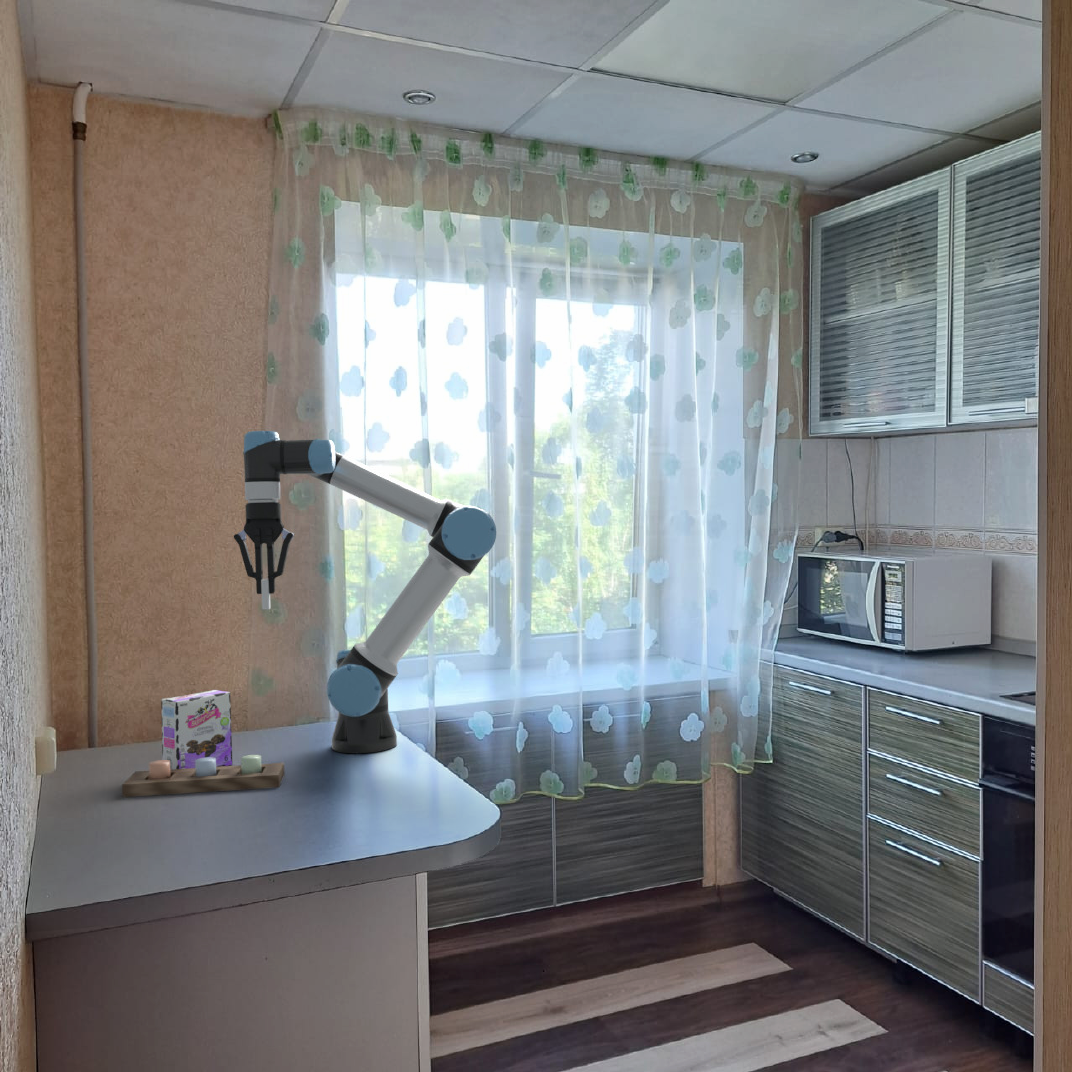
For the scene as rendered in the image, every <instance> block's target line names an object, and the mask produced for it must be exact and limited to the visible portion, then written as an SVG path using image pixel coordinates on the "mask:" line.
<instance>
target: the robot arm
mask: <svg viewBox="0 0 1072 1072" xmlns="http://www.w3.org/2000/svg"><path fill="white" fill-rule="evenodd" d="M243 439H244V440H243V452H242V453H243V464H244V466H243V467H244V500H245V501H247V502H246V504H245V524H244V526H243V529H242V530H241V531H239V532H238V533H236V534H234V535H233V539H234V541H236V543H237V544H238V547H239V550H240V555H241V557H242V561H243V564H244V569H245V571H246V575H247V577H249V578H253V579H254V580H255V584H256V586H255V589H256V594H257V595H261V610H270V609H272V608H271V607H272V606H271V605H272V603H271V594H275V592H276V578H278V577H280V576H282V575H283V574H284V570H285V566H286V561H287V558H288V557H287V556H288V552H289V547H290V543H291V541H292V540H293V539H294V537H295V534H294V533H293V532H291V531H289V530H287V529H285V526H284V523H283V522H282V504H281V503H280V502H279V500H281V499H282V498H281V495H282V494H281V475H308V476H311V477H313V478H315V479H318V480H319V481H321V482H324V483H326V484H329V485H331V486H333V487H335V488H337V489H340V490H342V491H344V492H345V493H348V494H350V495H351V496H354V497H356V498H358V499H360V500H363V501H365V502H367V503H370V504H371V505H374V506H376V507H378V508H380V509H382V510H384V511H386V512H389V513H391V514H393V515H395V516H398V517H400V518H401V519H403V520H406V521H407V522H410V523H412V524H414V525H416V526H418V527H420V528H423V529H424V530H427V532H428V535H429V536H430V537H432V538H431V540H430V541H429V542H428V544H427V548H428V549H427V550H428V555H427V557H425V559H424V561H423V562H422V564H421V565H420V566H419V568H418V569H417V570H416V572H415V573H414V574H413V576H412V577H411V579H410V580H409V581H408V583H407V584H406V586H405V587H404V588H403V589H402V591H401V592H400V594H399V595H397V598H396V599H395V600H394V602H393V603H392V604H391V606H390V607H389V608H388V610H387V611H386V613H385V614H384V616H383V617H382V618H381V619H380V621H379V622H378V623H377V625H376V627H375V628H374V629H373V631H372V632H371V633H370V635H369V636H368V637H367V638H366V640H365V641H363V642H359V643H355V644H354V645H353V646H352V648H351V649H344V650H339V651H338V652H337V653H336V654H337V655H336V660H335V664H336V665H337V666H336V669H335V670H334V671H333V672H332V673H330V674H331V675H330V676H329V678H328V681H327V687H326V693H327V698H328V702H329V703H330V705H331V706H332V707H333V708H334V709H335V711H336V712H338V716H337V720H336V723H335V726H334V730H333V733H332V737H331V749H332V750H333V751H334V752H339V753H343V754H370V753H378V752H382V751H386V750H390V749H392V748H394V747H396V746H397V744H398V739H397V736H398V735H397V732H396V730H395V727H394V725H393V724H394V723H393V721H392V719H391V716H390V713H389V690H388V688H389V687H390V686H391V685H392V683H393V682H394V680H395V678H397V676H398V674H399V673H398V667H397V666H398V663H399V662H400V660H401V659H402V658H403V656H404V654H405V653H406V652H407V650H409V648H410V647H411V646H412V644H413V643H414V642H415V640H416V639H417V637H418V636H419V635H420V633H421V631H422V630H423V629H424V627H425V626H426V625H427V623H428V622H429V620H430V619H431V618H432V616H433V615H434V614H435V613H436V611H437V609H438V608H439V607H440V606H441V604H442V603H443V601H445V599H446V598H447V596H448V594H449V593H450V592H451V590H453V588H454V586H455V585H456V584H457V582H458V581H459V579H460V578H462V577H466V576H471V574H472V573H473V572H474V570H475V569H476V568H477V566H478V565H479V564H480V562H481V561H482V559H483V558H484V556H485V555H487V554H488V553H489V552H490V551H491V550H492V548H493V547H494V545H495V543H496V542H495V541H496V539H497V526H496V523H495V521H494V519H493V517H492V515H490V513H488V512H487V511H486V509H485V510H484V509H483V508H481V507H479V506H476V505H471V504H470V505H469V504H468V505H463V504H460V503H457V502H454V501H452V500H451V499H448V498H445V499H442V500H440V499H438V498H435V497H434V496H432V495H429V494H427V493H426V492H423V491H421V490H419V489H416V488H414V487H412V486H410V485H408V484H406V483H404V482H402V481H401V480H400V481H399V480H398V479H395V478H393V477H391V476H389V475H386V474H384V473H383V472H380V471H378V470H375V469H374V468H372V467H369V466H368V465H365V464H363V463H361V462H359V461H357V460H354V459H352V458H350V457H347V456H346V455H344V454H341V453H339V452H337V451H336V450H335V449H336V448H335V443H334V442H333V441H332V439H331V440H330V439H319V438H314V439H295V440H293V439H292V440H291V439H290V440H284V439H280V436H279V433H278V432H277V431H273V430H253V431H248V432H247V433H245V435H244V438H243ZM281 535H282V536H281ZM247 537H248V538H249V539H250V541H251V542H252V543H253V544H254V553H255V554H254V560H255V570H254V566H253V563H252V559H251V557H250V553H249V549H248V545H247V543H246V540H247ZM279 537H281V538H282V540H283V541H282V545H281V549H280V554H279V558H278V563H277V566H276V567H277V568H276V567H275V543H276V541H277V540H278V539H279ZM264 544H266V556H267V557H266V560H267V561H266V562H267V578H264V575H263V574H264V573H263V571H264V569H263V568H264V567H263V564H264V563H263V545H264ZM275 569H276V571H275Z"/></svg>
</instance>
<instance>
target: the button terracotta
mask: <svg viewBox="0 0 1072 1072" xmlns="http://www.w3.org/2000/svg"><path fill="white" fill-rule="evenodd" d="M148 771H149V779H150V780H152V779H168V778H171V774H170V761H169V760H163V759H159V760H153V761H150V762H149V763H148Z"/></svg>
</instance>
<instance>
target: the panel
mask: <svg viewBox="0 0 1072 1072" xmlns="http://www.w3.org/2000/svg"><path fill="white" fill-rule="evenodd" d="M261 767H262V773H251V774H241V764H240V765H229V766H221V767H216V776H201V777H196V768H187V769H170V774H171V778H168V779H152V780H150V779H149V770H141V771H140V770H139V771H134V772H133V773H132V774H131V775H130V776H129V777H128V778H127V779H126V780H125V781H124V782H123V783H122V785H121V787H122V789H121V790H122V794H121V795H122V798H130V797H144V796H145V797H146V796H161V795H176V794H177V795H178V794H191V793H192V794H193V793H194V794H195V793H207V792H210V793H211V792H222V791H223V792H225V791H241V790H243V791H244V790H258V789H271V788H272V789H273V788H280V786H281V784H282V782H283V779H284V777H285V775H286V773H285V762H274V763H272V762H271V763H261Z"/></svg>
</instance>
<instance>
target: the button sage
mask: <svg viewBox="0 0 1072 1072" xmlns="http://www.w3.org/2000/svg"><path fill="white" fill-rule="evenodd" d="M261 764H262V755H260V754H249V755H244V756H241V757H240V765H241V774H251V773H262V767H261Z"/></svg>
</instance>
